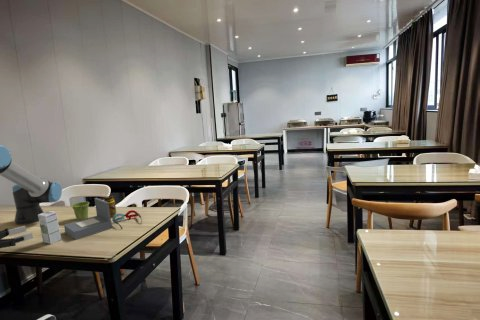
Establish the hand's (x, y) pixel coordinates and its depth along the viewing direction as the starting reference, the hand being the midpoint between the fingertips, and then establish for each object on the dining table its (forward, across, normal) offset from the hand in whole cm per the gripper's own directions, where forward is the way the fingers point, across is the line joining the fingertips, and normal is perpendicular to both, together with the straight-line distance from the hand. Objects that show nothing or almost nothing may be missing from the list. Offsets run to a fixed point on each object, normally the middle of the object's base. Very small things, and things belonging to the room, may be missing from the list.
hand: (29, 231), depth 143 cm
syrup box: (+8, 0, -8) cm, 12 cm away
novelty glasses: (+44, +8, -9) cm, 45 cm away
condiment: (+41, -12, -8) cm, 44 cm away
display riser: (+26, 0, -8) cm, 27 cm away
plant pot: (+30, -24, -8) cm, 40 cm away
